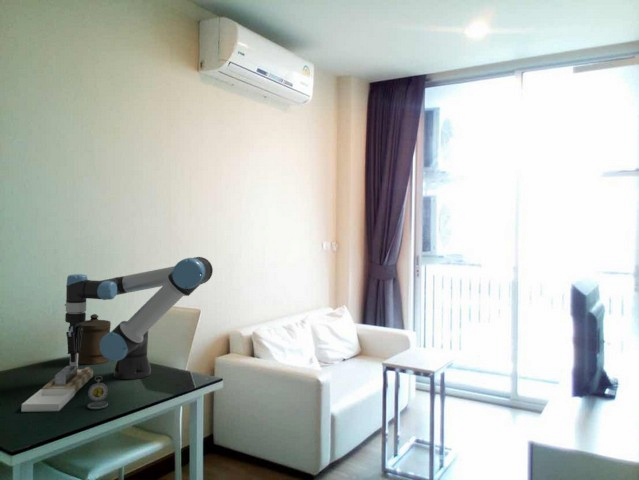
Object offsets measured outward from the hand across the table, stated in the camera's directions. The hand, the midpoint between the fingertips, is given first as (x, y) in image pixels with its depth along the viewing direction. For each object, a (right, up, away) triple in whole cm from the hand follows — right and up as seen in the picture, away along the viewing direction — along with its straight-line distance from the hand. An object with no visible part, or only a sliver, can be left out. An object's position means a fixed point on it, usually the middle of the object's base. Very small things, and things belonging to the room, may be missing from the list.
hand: (73, 369), depth 201 cm
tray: (+4, -6, -25) cm, 26 cm away
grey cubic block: (+2, -2, -13) cm, 14 cm away
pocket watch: (+22, -7, -26) cm, 34 cm away
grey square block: (+1, -2, -9) cm, 9 cm away
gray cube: (+1, -2, -4) cm, 5 cm away
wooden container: (-7, -4, +32) cm, 33 cm away
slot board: (+1, -5, -5) cm, 7 cm away
